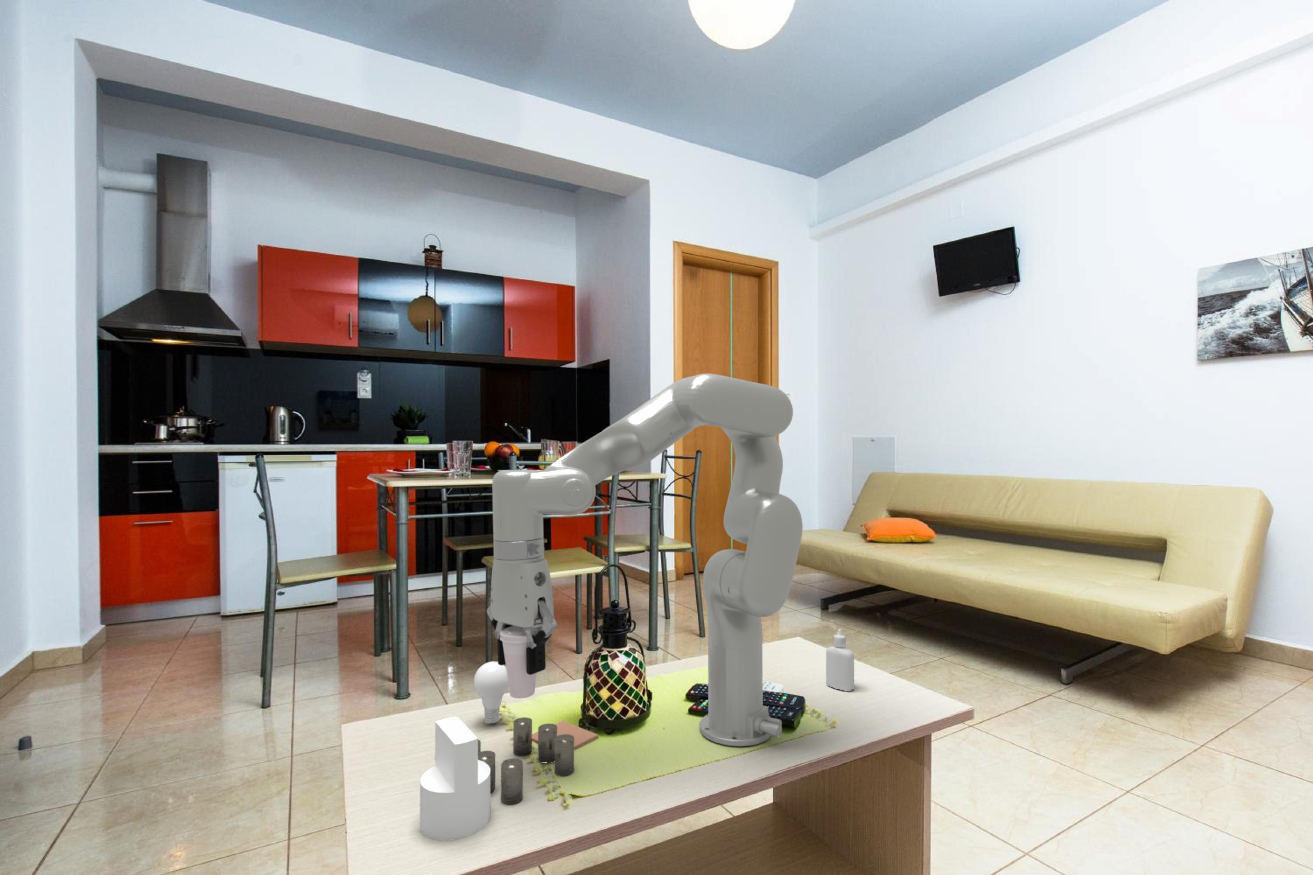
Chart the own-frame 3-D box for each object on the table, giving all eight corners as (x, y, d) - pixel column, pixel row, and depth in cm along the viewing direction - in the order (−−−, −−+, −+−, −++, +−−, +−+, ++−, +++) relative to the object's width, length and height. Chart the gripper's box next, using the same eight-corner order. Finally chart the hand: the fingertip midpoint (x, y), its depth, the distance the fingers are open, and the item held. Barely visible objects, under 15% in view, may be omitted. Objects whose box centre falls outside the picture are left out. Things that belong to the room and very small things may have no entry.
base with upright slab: (500, 824, 84) (500, 732, 84) (431, 849, 79) (431, 751, 79) (476, 794, 92) (477, 710, 92) (412, 815, 86) (412, 726, 87)
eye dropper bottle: (842, 681, 135) (841, 625, 136) (857, 691, 130) (856, 632, 130) (823, 683, 134) (823, 626, 134) (837, 693, 129) (837, 633, 129)
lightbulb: (488, 734, 111) (489, 670, 111) (466, 724, 115) (466, 663, 115) (517, 721, 116) (517, 661, 116) (494, 713, 120) (494, 654, 120)
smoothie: (551, 692, 98) (550, 601, 98) (516, 705, 93) (514, 610, 93) (528, 681, 102) (526, 594, 102) (492, 693, 98) (491, 602, 98)
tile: (598, 737, 109) (598, 734, 109) (563, 754, 103) (563, 751, 103) (562, 723, 115) (562, 720, 115) (527, 739, 109) (527, 736, 109)
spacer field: (582, 767, 99) (582, 735, 99) (504, 810, 87) (504, 773, 87) (528, 743, 107) (528, 713, 107) (450, 779, 96) (450, 746, 96)
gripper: (575, 551, 95) (578, 671, 95) (503, 542, 106) (506, 650, 106) (536, 559, 90) (539, 687, 89) (465, 548, 100) (467, 663, 100)
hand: (521, 666), depth 98 cm, fingers closed on smoothie, 6 cm apart
